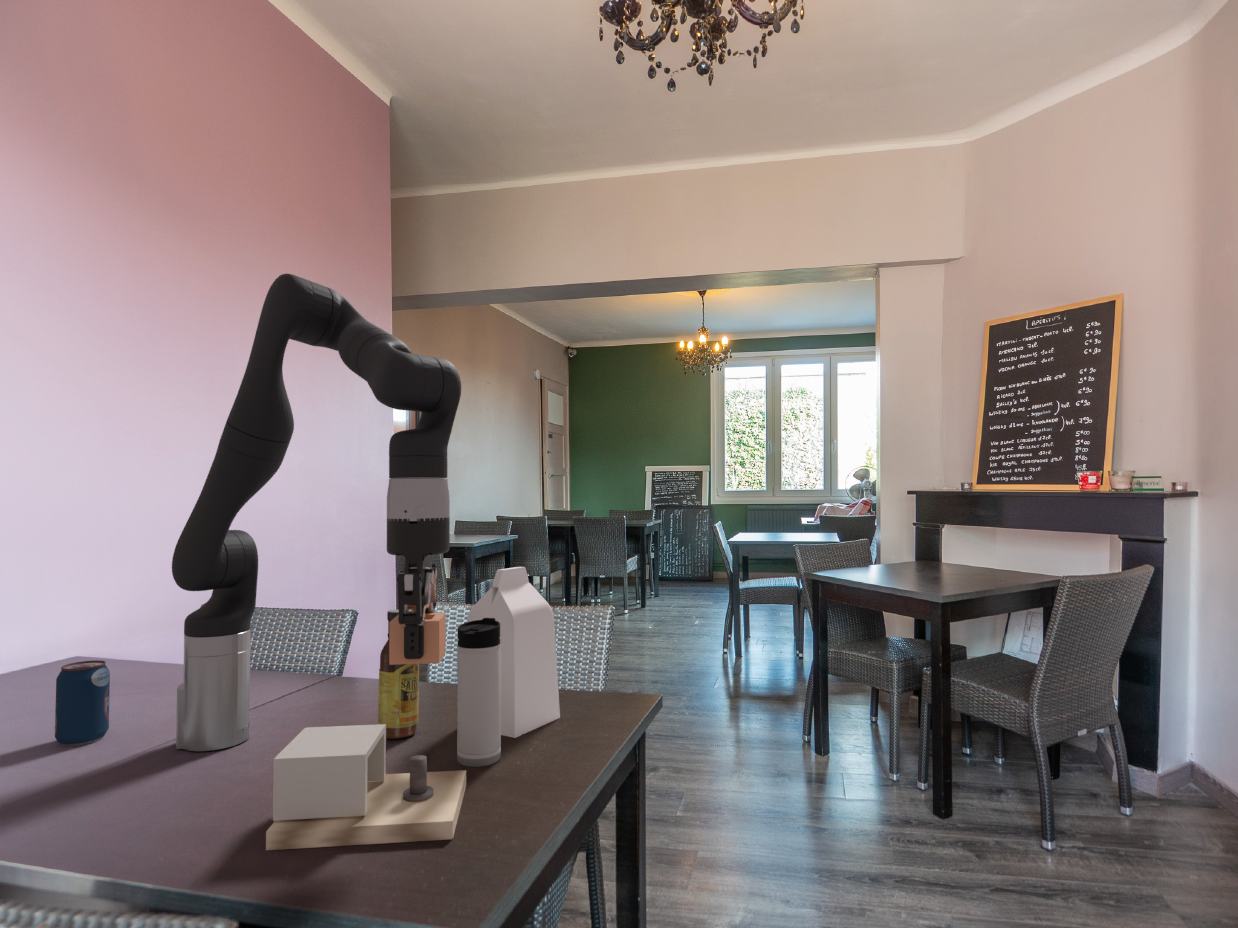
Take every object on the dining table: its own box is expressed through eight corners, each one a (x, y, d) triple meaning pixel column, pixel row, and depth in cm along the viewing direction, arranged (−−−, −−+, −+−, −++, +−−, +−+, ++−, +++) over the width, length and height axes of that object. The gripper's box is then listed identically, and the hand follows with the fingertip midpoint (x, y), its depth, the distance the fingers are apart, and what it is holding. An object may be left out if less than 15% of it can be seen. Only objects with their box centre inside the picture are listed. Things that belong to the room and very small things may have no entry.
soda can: (118, 736, 117) (119, 661, 117) (70, 750, 110) (72, 671, 111) (92, 730, 119) (94, 657, 120) (44, 743, 113) (46, 666, 114)
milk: (514, 737, 114) (514, 573, 115) (461, 725, 120) (461, 569, 121) (560, 717, 124) (559, 566, 126) (509, 707, 131) (508, 563, 132)
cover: (272, 820, 80) (273, 758, 81) (304, 781, 91) (305, 727, 92) (365, 815, 82) (365, 754, 82) (385, 777, 93) (385, 723, 93)
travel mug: (509, 753, 107) (509, 618, 108) (487, 769, 101) (487, 626, 102) (472, 749, 109) (472, 616, 110) (448, 764, 103) (448, 623, 104)
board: (265, 850, 78) (266, 789, 79) (309, 793, 93) (310, 742, 94) (452, 838, 81) (452, 780, 81) (466, 785, 96) (466, 735, 96)
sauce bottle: (406, 741, 113) (407, 614, 113) (370, 739, 114) (370, 613, 115) (425, 728, 119) (426, 607, 120) (391, 726, 120) (391, 606, 121)
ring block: (389, 664, 85) (389, 622, 85) (398, 653, 91) (398, 614, 91) (439, 662, 86) (439, 620, 86) (445, 652, 92) (445, 612, 92)
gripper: (398, 514, 96) (398, 641, 95) (373, 517, 81) (373, 667, 81) (456, 513, 97) (456, 639, 96) (441, 516, 82) (441, 665, 82)
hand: (418, 651), depth 88 cm, fingers closed on ring block, 5 cm apart
